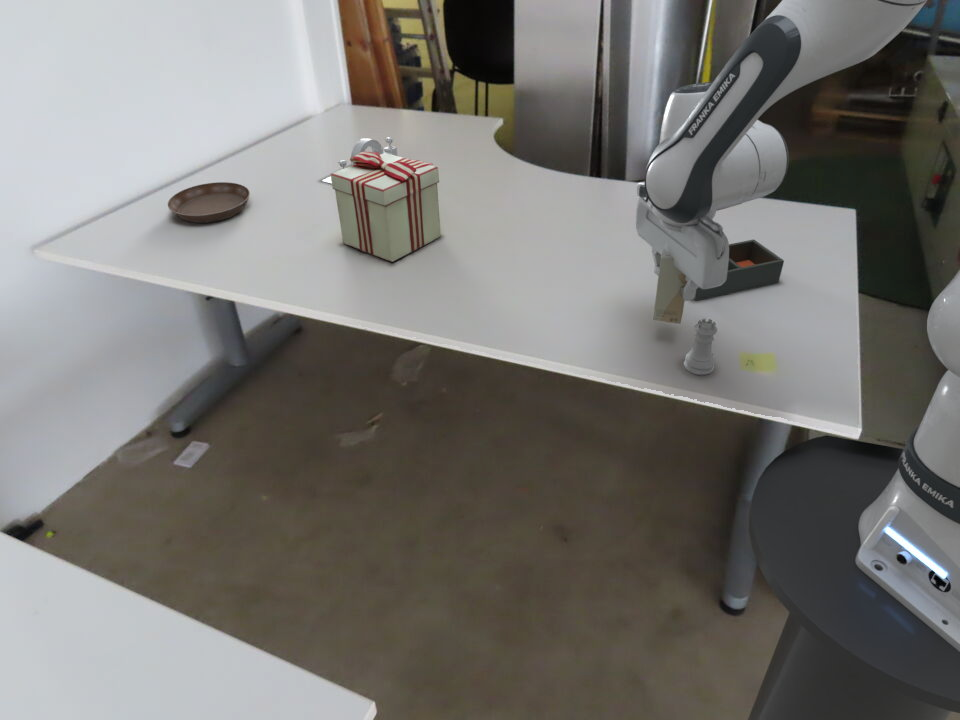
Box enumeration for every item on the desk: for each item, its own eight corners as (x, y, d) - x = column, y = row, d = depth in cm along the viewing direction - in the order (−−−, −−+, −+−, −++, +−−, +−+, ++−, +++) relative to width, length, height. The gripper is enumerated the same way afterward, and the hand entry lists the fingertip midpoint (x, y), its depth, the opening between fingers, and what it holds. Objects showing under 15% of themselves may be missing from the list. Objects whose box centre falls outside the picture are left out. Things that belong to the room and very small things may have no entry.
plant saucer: (267, 207, 158) (264, 194, 156) (196, 234, 148) (191, 221, 146) (227, 188, 168) (224, 175, 167) (157, 212, 158) (153, 199, 156)
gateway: (346, 186, 166) (341, 153, 161) (339, 184, 167) (333, 152, 162) (397, 159, 179) (394, 128, 174) (390, 158, 180) (387, 127, 175)
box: (680, 325, 108) (690, 261, 101) (652, 321, 109) (660, 257, 102) (683, 307, 112) (693, 245, 105) (656, 303, 113) (664, 241, 106)
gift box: (454, 229, 146) (449, 148, 136) (397, 266, 134) (387, 180, 124) (391, 211, 154) (382, 134, 144) (333, 245, 142) (318, 163, 132)
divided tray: (778, 283, 124) (784, 260, 121) (695, 300, 120) (698, 278, 118) (749, 260, 131) (753, 239, 128) (669, 277, 127) (672, 255, 124)
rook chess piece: (695, 355, 108) (703, 311, 103) (720, 368, 105) (729, 323, 100) (677, 367, 106) (684, 322, 101) (701, 380, 103) (710, 335, 98)
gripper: (748, 226, 92) (730, 315, 100) (668, 173, 108) (659, 254, 116) (706, 234, 90) (691, 324, 99) (631, 180, 106) (624, 261, 115)
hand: (673, 286), depth 107 cm, fingers closed on box, 6 cm apart
